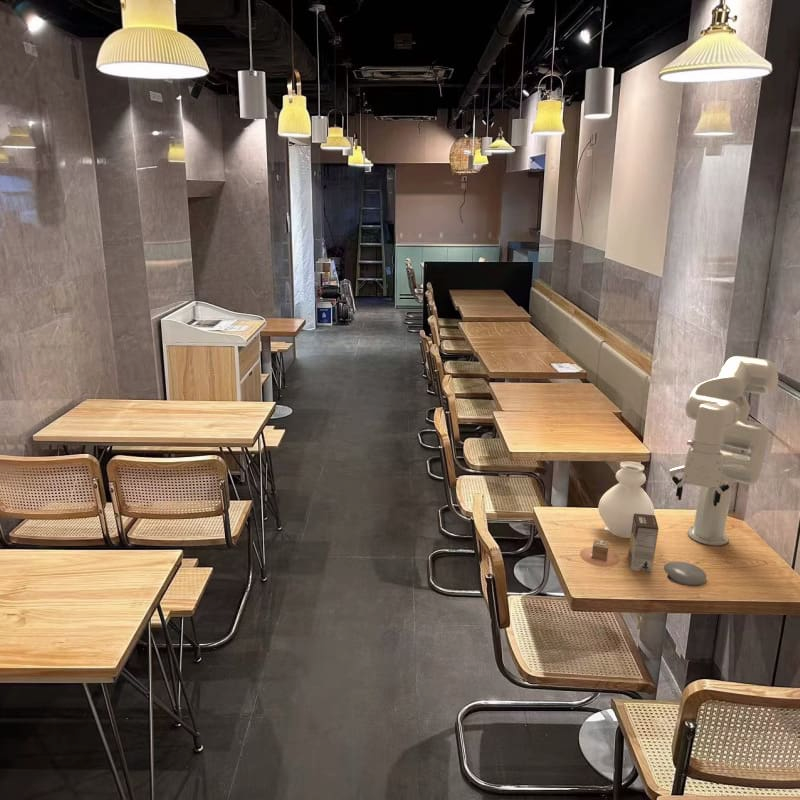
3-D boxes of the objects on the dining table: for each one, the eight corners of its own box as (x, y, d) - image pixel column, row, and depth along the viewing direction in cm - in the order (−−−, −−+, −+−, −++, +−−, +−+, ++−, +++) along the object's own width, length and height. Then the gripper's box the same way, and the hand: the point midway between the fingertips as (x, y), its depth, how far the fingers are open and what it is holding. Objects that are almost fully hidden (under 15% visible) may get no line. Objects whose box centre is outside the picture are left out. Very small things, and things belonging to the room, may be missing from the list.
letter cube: (592, 551, 220) (594, 538, 218) (607, 554, 218) (609, 541, 217) (591, 558, 216) (593, 544, 214) (606, 561, 214) (608, 547, 213)
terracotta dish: (581, 547, 225) (581, 544, 224) (620, 554, 221) (620, 551, 220) (577, 564, 214) (577, 561, 213) (617, 573, 210) (618, 569, 210)
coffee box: (626, 558, 218) (633, 512, 214) (647, 561, 217) (655, 514, 213) (629, 573, 210) (636, 525, 205) (652, 576, 209) (659, 528, 204)
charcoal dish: (663, 561, 217) (663, 558, 217) (704, 569, 214) (705, 566, 213) (663, 580, 207) (663, 577, 206) (706, 589, 203) (707, 585, 202)
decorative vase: (648, 526, 241) (658, 459, 233) (652, 551, 224) (663, 479, 217) (595, 519, 245) (603, 453, 237) (595, 542, 228) (604, 472, 221)
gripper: (674, 446, 198) (665, 501, 203) (740, 455, 192) (730, 512, 197) (673, 438, 204) (665, 491, 209) (738, 447, 199) (728, 501, 204)
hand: (696, 501), depth 203 cm, fingers open, 9 cm apart
